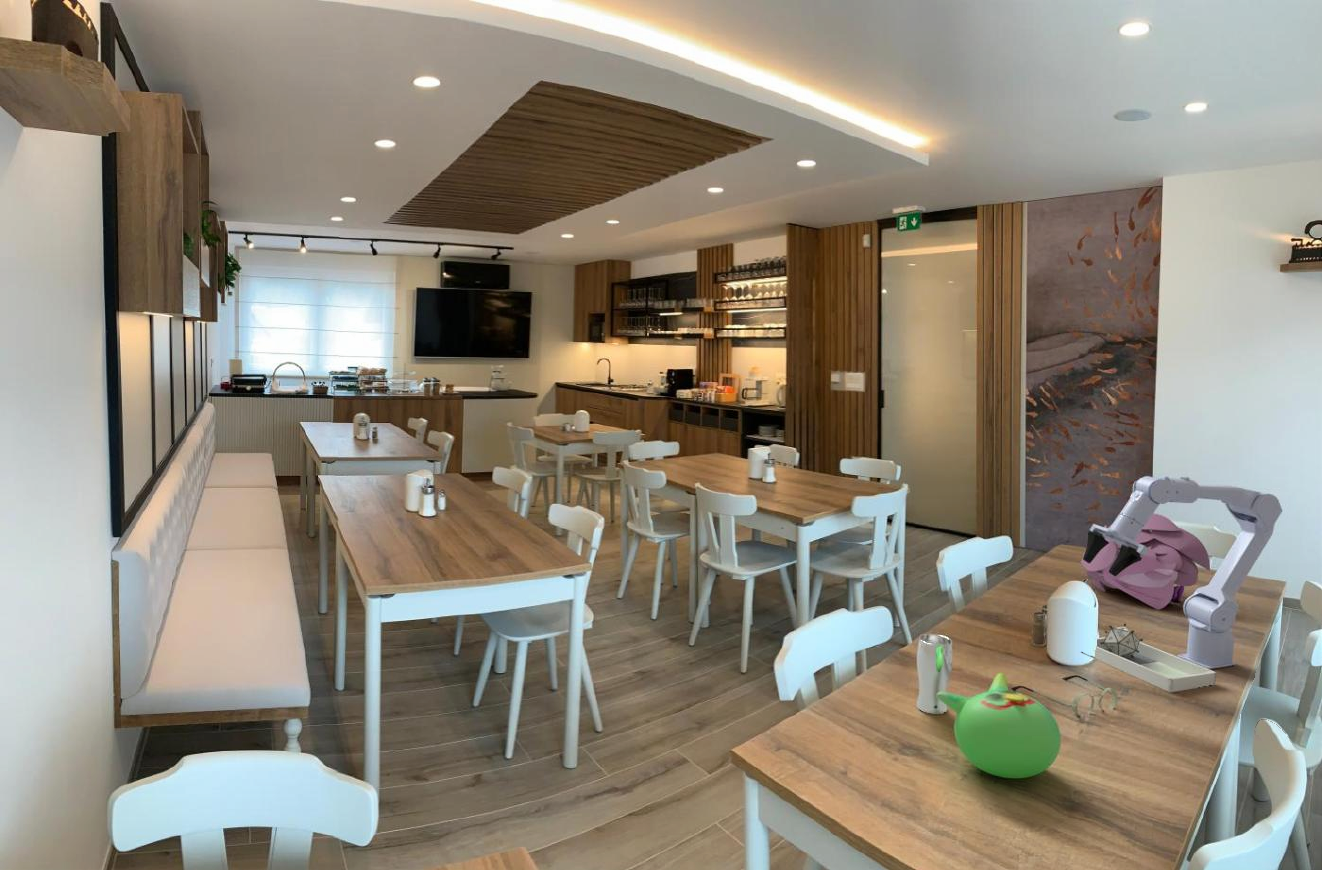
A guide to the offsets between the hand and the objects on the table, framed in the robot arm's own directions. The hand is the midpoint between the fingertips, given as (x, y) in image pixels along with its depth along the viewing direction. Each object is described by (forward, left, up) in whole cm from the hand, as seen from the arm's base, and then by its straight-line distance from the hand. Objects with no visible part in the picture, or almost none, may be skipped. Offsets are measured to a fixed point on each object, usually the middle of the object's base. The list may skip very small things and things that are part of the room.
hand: (1098, 567), depth 180 cm
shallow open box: (-10, +6, -24) cm, 26 cm away
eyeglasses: (+22, +14, -24) cm, 36 cm away
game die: (-10, 0, -24) cm, 26 cm away
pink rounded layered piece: (-60, -36, -24) cm, 74 cm away
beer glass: (+54, +10, -24) cm, 60 cm away
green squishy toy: (+57, +33, -24) cm, 70 cm away
